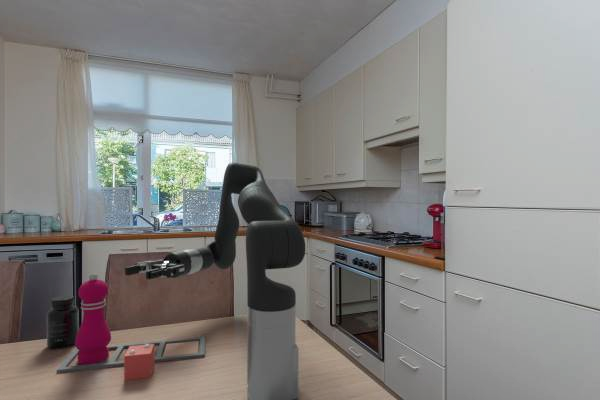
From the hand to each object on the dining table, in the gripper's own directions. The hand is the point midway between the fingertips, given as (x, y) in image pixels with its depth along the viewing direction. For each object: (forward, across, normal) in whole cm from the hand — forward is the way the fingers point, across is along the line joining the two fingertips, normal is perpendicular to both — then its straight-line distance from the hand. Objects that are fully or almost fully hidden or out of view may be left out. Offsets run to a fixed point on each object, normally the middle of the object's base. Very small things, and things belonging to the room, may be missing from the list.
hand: (136, 273), depth 91 cm
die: (+11, +16, +18) cm, 26 cm away
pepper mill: (+12, 0, +18) cm, 21 cm away
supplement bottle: (+10, -15, +18) cm, 25 cm away
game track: (+5, +8, +18) cm, 20 cm away
